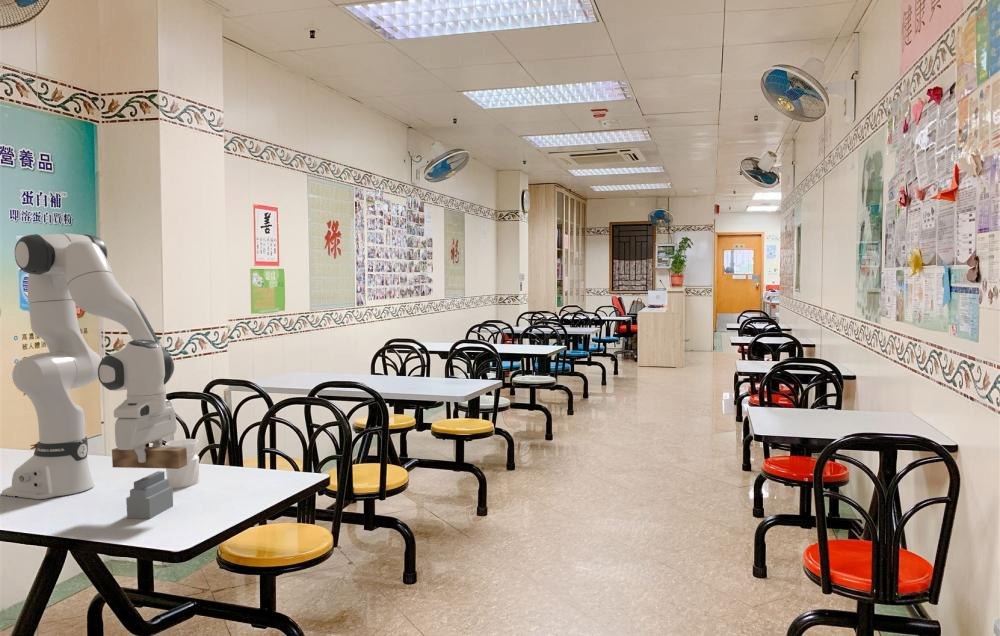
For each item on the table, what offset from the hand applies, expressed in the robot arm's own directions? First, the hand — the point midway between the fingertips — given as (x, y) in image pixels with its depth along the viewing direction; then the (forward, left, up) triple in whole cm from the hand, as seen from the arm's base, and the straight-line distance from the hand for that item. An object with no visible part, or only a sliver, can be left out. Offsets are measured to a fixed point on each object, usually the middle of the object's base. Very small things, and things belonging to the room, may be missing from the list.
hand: (149, 459), depth 180 cm
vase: (-6, +25, -14) cm, 29 cm away
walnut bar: (0, 0, -2) cm, 2 cm away
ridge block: (0, 0, -13) cm, 13 cm away
